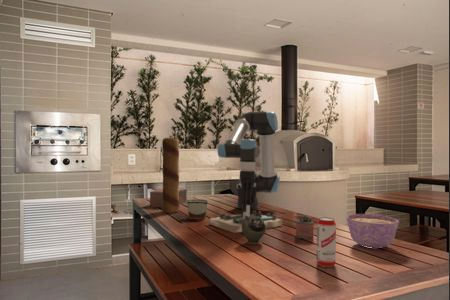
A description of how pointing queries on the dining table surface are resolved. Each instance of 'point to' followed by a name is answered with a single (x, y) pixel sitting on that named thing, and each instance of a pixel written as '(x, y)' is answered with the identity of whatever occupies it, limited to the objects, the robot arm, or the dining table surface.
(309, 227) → the potted succulent
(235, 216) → the charcoal strap
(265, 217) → the teal strap
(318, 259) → the beer can
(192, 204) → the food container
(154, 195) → the tissue box cover
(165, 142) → the wafer roll
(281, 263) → the dining table surface
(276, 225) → the mount
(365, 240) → the bowl of food
